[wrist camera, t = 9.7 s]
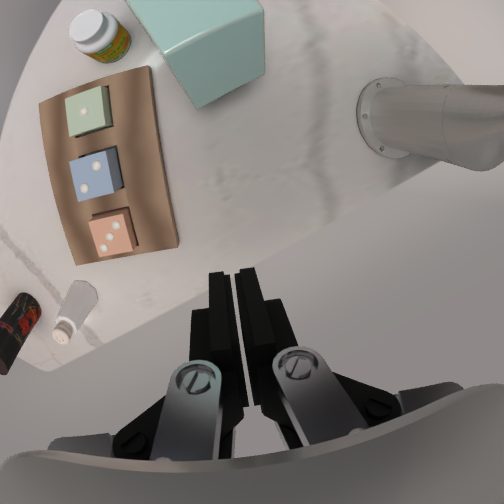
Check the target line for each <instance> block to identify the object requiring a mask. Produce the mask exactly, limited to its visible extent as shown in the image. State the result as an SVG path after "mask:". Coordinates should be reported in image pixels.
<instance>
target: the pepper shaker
mask: <svg viewBox="0 0 504 504" xmlns="http://www.w3.org/2000/svg"><path fill="white" fill-rule="evenodd" d="M97 301H98V298H97V294H96V290H95V289H94V288H93V287H92V286H91V285H90V284H88V283H87V282H86V281H74V283H73V284H72V286H71V287H70V288H69V291H68V293H67V295H66V297H65V299H64V302H63V304H62V306H61V308H60V311H59V313H58V315H57V318H56V321H55V322H56V327H55V329H54V330H53V331H52V336H53V338H54V340H55V341H56V342H57V343H59V344H61V345H67V344H68V343H69V342H70V338H71V336H74V335H75V334H76V332H77V331H78V330H79V328H80V327H81V325H82V324H83V322H84V320H85V319H86V317H87V316H88V314H89V313H90V311H91V310H92V308H93V307H94V306H95V304H96V303H97Z"/></svg>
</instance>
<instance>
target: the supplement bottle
mask: <svg viewBox="0 0 504 504" xmlns="http://www.w3.org/2000/svg"><path fill="white" fill-rule="evenodd" d="M69 36H70V38H71V39H72V40H73V42H74V45H75V47H76V48H77V49H78V50H79V51H80V52H82V53H84V54H86V55H88V56H90V57H92V58H93V59H95V60H97V61H99V62H102V63H111V62H114V61H117V60H118V59H120V58H121V57H122V56H124V55H125V53H126V52H127V51H128V49H129V46H130V43H131V38H130V35H129V33H128V32H127V31H126V29H125V28H124V27H123V26H122V25H121V24H120V23H119V21H118V20H117V19H116V18H115V17H114V16H113V15H112V14H110V13H107V12H100V11H99V10H96V9H90V10H86V11H84V12H82V13H80V14H79V15H78V16H76V17H75V19H74V20H73V21H72V23H71V25H70V27H69Z"/></svg>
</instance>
